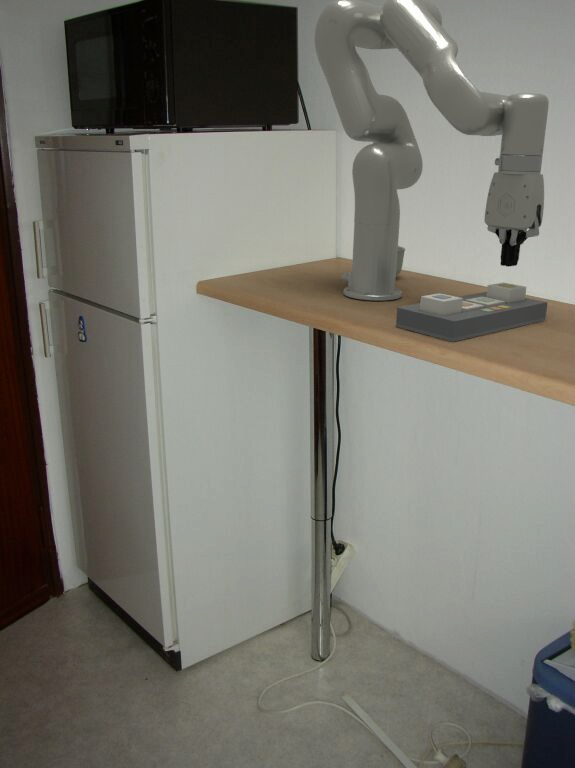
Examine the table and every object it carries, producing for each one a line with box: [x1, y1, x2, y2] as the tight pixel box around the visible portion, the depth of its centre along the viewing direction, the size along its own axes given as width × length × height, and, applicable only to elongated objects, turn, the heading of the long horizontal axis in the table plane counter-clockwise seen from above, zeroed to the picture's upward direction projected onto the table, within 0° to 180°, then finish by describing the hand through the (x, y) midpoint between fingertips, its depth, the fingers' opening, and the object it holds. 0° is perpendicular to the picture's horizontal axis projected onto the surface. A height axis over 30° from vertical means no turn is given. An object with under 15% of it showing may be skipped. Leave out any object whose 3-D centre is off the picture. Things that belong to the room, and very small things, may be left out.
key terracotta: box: [462, 301, 484, 312], centre depth 140 cm, size 5×5×3 cm
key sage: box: [466, 297, 505, 307], centre depth 144 cm, size 5×5×3 cm
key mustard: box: [486, 282, 527, 303], centre depth 148 cm, size 5×5×3 cm
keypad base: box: [395, 291, 548, 343], centre depth 142 cm, size 13×28×4 cm, turn 130°
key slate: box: [419, 293, 463, 316], centre depth 136 cm, size 5×5×3 cm
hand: (508, 265), depth 146 cm, fingers closed
